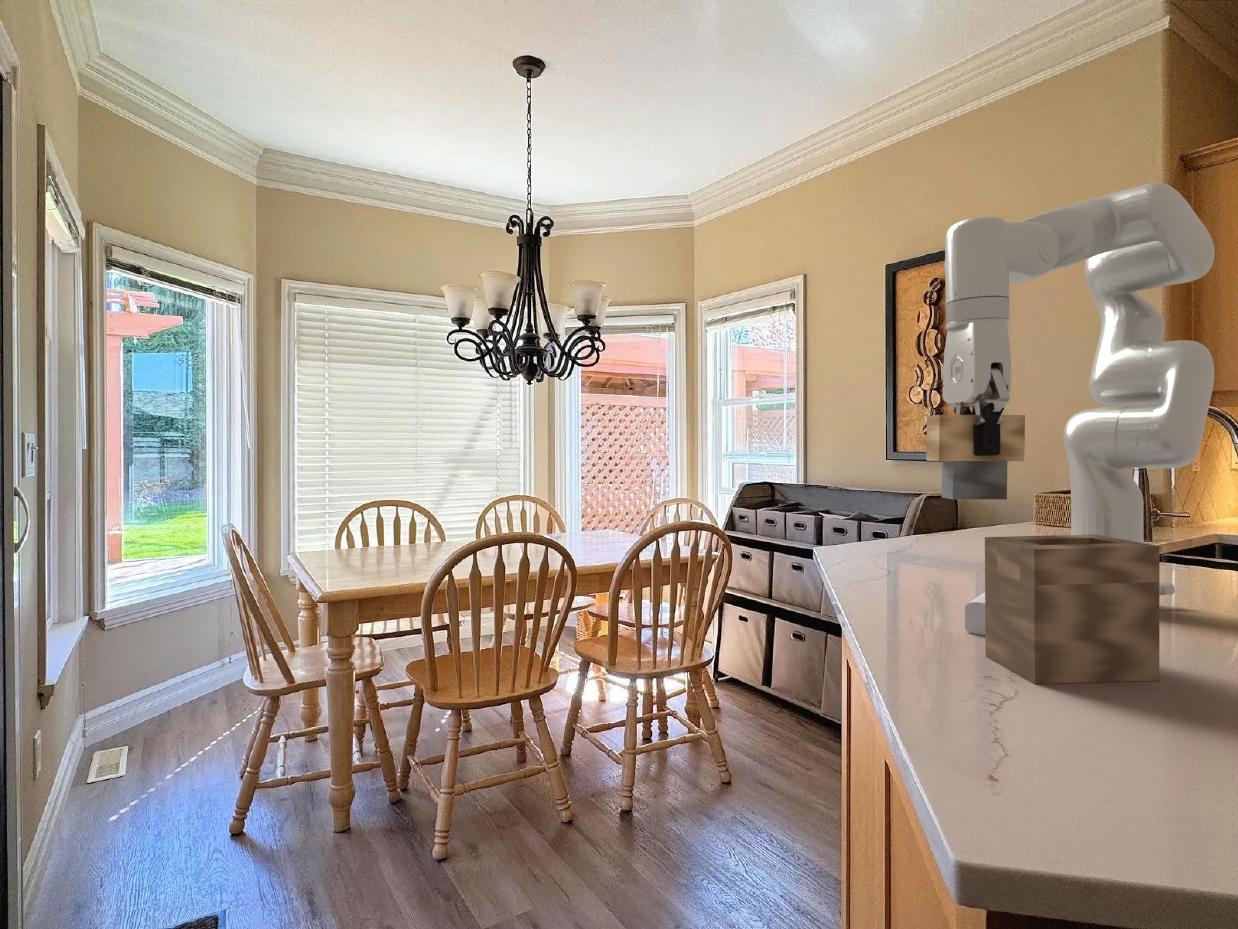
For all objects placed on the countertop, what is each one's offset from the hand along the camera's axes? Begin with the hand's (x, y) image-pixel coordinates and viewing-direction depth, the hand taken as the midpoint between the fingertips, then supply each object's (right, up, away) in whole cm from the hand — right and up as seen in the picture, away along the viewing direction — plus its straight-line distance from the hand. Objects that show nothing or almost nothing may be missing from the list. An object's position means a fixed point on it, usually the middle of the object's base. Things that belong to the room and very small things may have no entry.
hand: (978, 453), depth 96 cm
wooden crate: (+5, -25, -10) cm, 28 cm away
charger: (+9, -25, +9) cm, 28 cm away
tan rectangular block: (0, -6, 0) cm, 6 cm away
